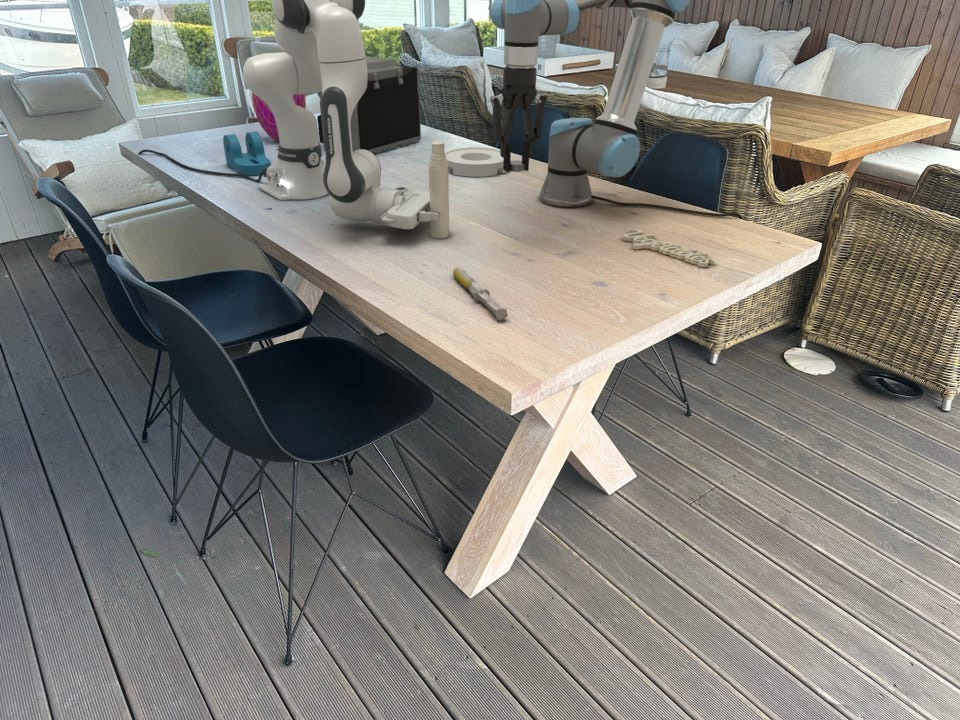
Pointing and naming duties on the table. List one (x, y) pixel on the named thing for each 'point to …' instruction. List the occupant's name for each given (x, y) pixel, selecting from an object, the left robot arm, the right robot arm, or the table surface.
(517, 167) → the cap
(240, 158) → the camera mount
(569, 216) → the table surface
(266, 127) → the decorative egg
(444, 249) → the table surface
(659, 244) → the decorative sign
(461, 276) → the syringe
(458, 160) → the ashtray
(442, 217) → the bottle
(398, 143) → the cooler box
